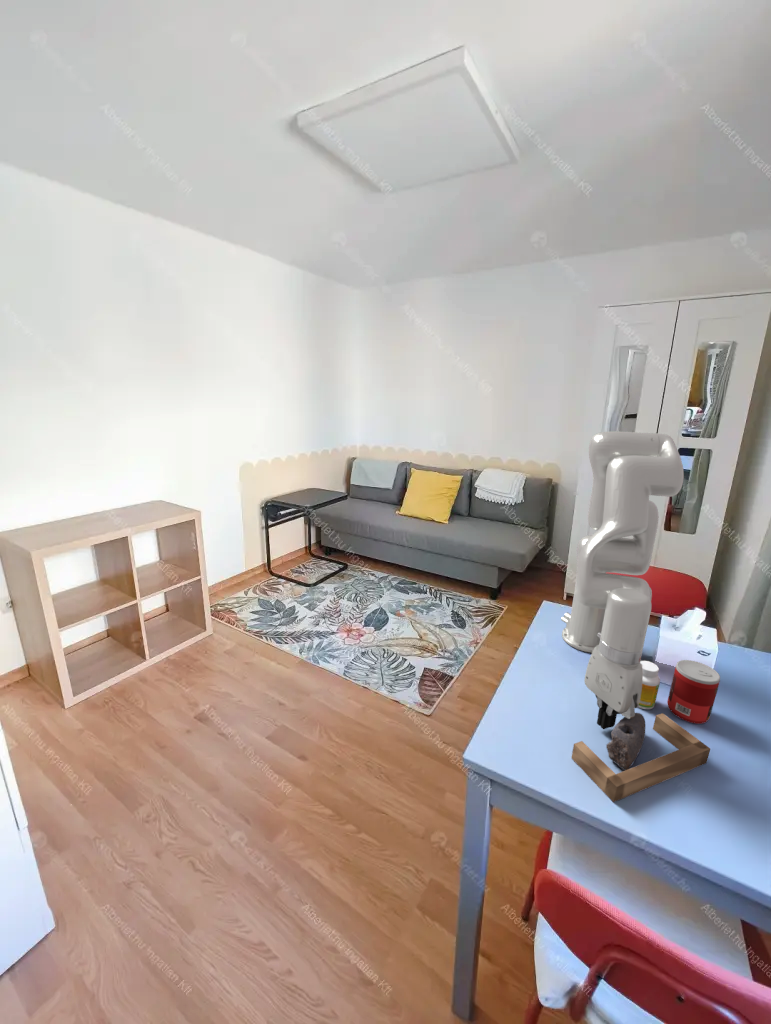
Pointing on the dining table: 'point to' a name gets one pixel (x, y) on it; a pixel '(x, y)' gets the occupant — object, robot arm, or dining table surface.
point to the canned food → (693, 691)
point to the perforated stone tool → (627, 741)
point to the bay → (647, 773)
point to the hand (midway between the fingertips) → (605, 724)
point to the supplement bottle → (649, 685)
